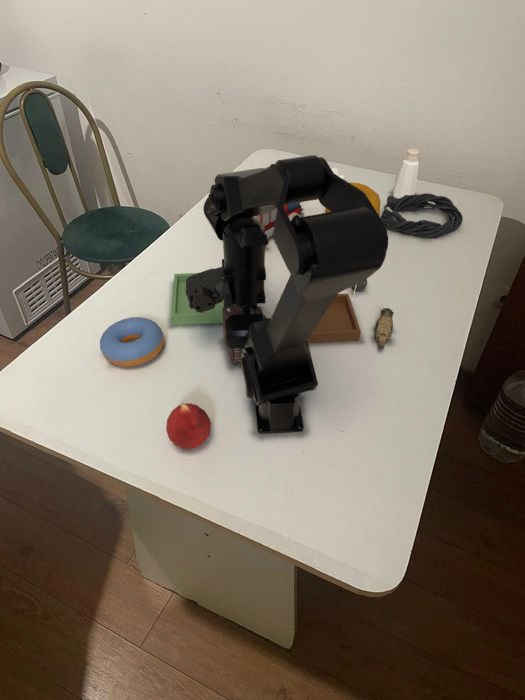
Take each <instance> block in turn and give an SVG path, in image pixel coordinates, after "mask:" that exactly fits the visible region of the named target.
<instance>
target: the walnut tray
mask: <svg viewBox="0 0 525 700" xmlns="http://www.w3.org/2000/svg"><path fill="white" fill-rule="evenodd" d="M360 337H361V328H360V325H359V322H358V319H357V317H356V313H355V310H354V307H353V304H352V299H351V297H350V295H349V293H338V294H337V296H336V297H335V299H334V300H333V302H332V303H331V305H330V306H329V308H328V309H327V311H326V312H325V314H324V315H323V317H322V318H321V320H320V321H319V323H318V324H317V326H316V327H315V329H314V330H313V332H312V333H311V335H310V336H309V338H308V340H307V342H308V344H313V343H314V344H316V343H317V344H319V343H339V342H359V341H360Z"/></svg>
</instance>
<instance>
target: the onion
mask: <svg viewBox="0 0 525 700" xmlns="http://www.w3.org/2000/svg"><path fill="white" fill-rule="evenodd" d="M165 426H166V427H165V431H166V434H167V437H168V439H169V441H170V442H171V443H173V445H174V446H175V447H178V448H180V449H183V450H194V449H197V448H199V447H200V446H202V445H203V444H204V443H205V442H206V441H207V439H208V438H209V436H210V435H211V427H212V421H211V418H210V416H209V415H208V413H207V412H206V410H204V409H203V408H201V407H200V406H199V405H197V404H196V403H195V404H194V403H189V402H188V403H183V402H182V403H181V404H179V405H177V406H176V407H174V409H172V410H171V412H170V413H169V415H168V417H167V419H166V425H165Z"/></svg>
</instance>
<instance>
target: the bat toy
mask: <svg viewBox="0 0 525 700" xmlns="http://www.w3.org/2000/svg"><path fill="white" fill-rule="evenodd" d="M367 286H368V278H367V279H366V280H364V281H362V282H360V283H358V284H356V285H354V286H352V287H351V288H352V289H353V290H354V291H353V294H352V296H353V297H352V299H351V302H352V301H353V300H354V297H355V293H356V291H358V292H359V291H363V290H364V289H365V290H366V288H367Z"/></svg>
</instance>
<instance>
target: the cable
mask: <svg viewBox="0 0 525 700" xmlns="http://www.w3.org/2000/svg"><path fill="white" fill-rule="evenodd" d="M421 210H423V211H431V210H432V211H433V210H438V211H440V212H442V213H444V214H445V215H447V216H448V218H449V219H448V220H447V221H446V222H444V223H443V224H441V223H438V222H435V221H431V220H426V219H419V220H417V221H413V220H407V219H406V218H405V217H403V216H402V215H401V214H400V213H398V211H400V212H415V211H421ZM380 218H381V219H382V221H383V223H384V225H385V226H386V228H388V230H395V231H398V232H400V233H405V234H406V233H407V234H408V233H410V234H413V235H416V236H419V237H422V238H431V237H436V236H437V237H439V236H442V235H445V234H448V233H450V232H452V231H454V230H457V229H459V228H460V226H461V225H462V224H463V221H464V220H463V219H464V218H463V214H462V212H461V211H460V210H459V209H458V207H457V206H456V205H454V202H453V201H452V199H450V198H449V197H447V196H443V195H436V194H434V193H427V192H425V193H419V194H415V195H404V197H401V198H395V197H393V195H388V196H387V198H386V204H385V205H384V206H383V211H382V212H381V216H380ZM394 219H395V220H394Z"/></svg>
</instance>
